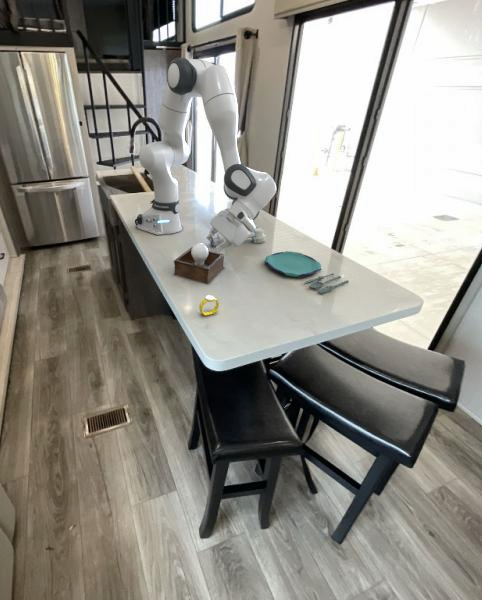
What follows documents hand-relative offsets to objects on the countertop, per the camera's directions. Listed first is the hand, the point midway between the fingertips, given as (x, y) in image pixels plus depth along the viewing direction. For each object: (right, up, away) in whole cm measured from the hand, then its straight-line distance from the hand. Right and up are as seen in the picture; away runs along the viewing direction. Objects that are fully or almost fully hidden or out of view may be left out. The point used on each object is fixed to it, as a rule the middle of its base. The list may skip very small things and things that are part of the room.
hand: (212, 244), depth 115 cm
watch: (-2, -25, -18) cm, 31 cm away
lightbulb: (-5, -10, +4) cm, 12 cm away
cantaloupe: (+20, +20, +50) cm, 57 cm away
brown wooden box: (-5, -9, +4) cm, 11 cm away
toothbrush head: (+13, +5, +27) cm, 30 cm away
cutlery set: (+34, -10, +4) cm, 35 cm away
